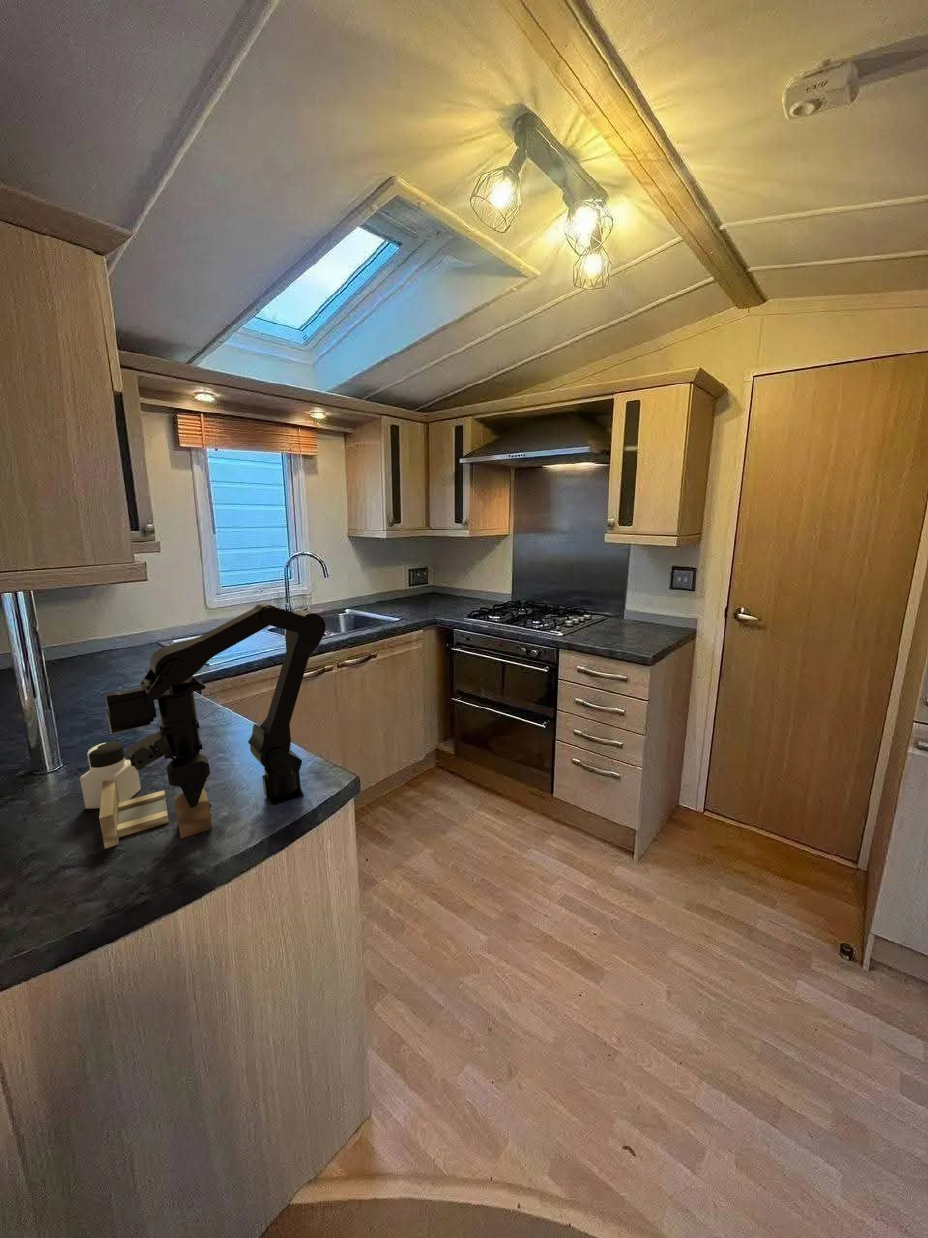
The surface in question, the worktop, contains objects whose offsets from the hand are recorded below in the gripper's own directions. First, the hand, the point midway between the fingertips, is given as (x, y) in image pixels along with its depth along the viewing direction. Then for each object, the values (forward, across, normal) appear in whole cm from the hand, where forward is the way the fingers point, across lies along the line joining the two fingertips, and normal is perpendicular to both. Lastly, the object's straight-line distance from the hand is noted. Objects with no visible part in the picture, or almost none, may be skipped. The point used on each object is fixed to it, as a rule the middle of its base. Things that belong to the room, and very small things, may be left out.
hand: (190, 795), depth 94 cm
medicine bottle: (+7, -21, -13) cm, 26 cm away
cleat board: (+6, -10, -9) cm, 15 cm away
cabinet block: (+6, 0, 0) cm, 7 cm away
